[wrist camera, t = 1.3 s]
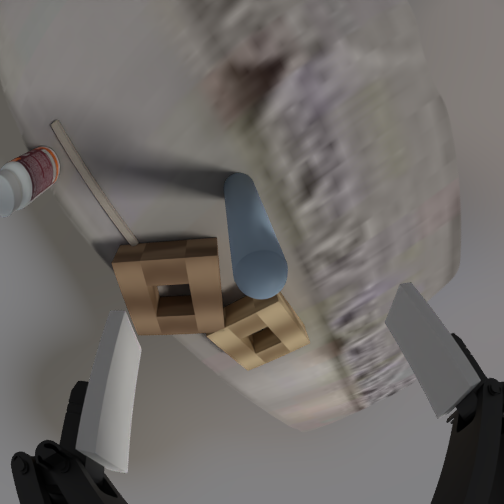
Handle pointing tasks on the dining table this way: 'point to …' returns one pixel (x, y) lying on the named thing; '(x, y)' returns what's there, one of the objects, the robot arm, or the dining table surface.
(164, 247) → the square wooden ring
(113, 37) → the dining table surface
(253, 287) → the blue-grey peg
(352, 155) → the dining table surface
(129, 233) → the thin wooden stick
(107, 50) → the dining table surface
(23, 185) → the pill bottle
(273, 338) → the light wood square frame
